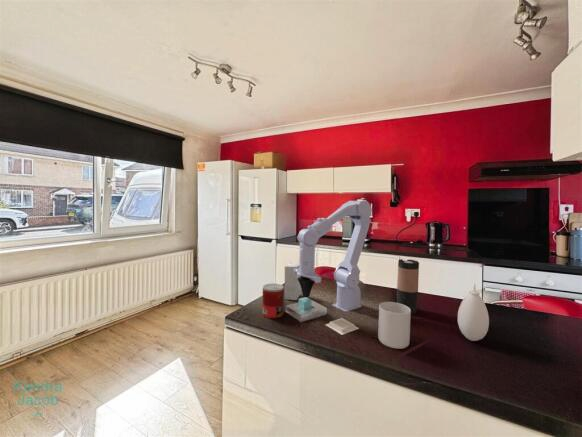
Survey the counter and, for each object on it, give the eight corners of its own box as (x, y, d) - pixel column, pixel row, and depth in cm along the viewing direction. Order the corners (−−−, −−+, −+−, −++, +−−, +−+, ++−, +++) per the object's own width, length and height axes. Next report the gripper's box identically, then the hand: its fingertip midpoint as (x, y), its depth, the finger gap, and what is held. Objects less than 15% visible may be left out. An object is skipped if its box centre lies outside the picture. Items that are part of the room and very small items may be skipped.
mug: (411, 353, 72) (413, 315, 71) (378, 348, 74) (379, 311, 73) (405, 333, 83) (406, 300, 82) (376, 329, 86) (378, 297, 85)
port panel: (310, 306, 104) (310, 299, 103) (326, 315, 95) (326, 307, 95) (285, 313, 97) (285, 305, 97) (300, 323, 89) (300, 315, 88)
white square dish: (341, 320, 91) (342, 316, 91) (358, 330, 85) (359, 325, 85) (325, 326, 87) (325, 321, 87) (341, 336, 80) (341, 331, 80)
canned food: (280, 320, 90) (281, 290, 90) (259, 318, 92) (259, 288, 91) (285, 312, 98) (286, 284, 97) (265, 310, 100) (266, 282, 99)
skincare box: (297, 300, 110) (297, 267, 109) (283, 299, 111) (284, 266, 110) (301, 294, 118) (301, 262, 117) (288, 292, 119) (289, 261, 118)
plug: (305, 312, 98) (305, 297, 98) (311, 315, 95) (311, 299, 95) (298, 314, 96) (298, 298, 96) (303, 317, 93) (304, 301, 93)
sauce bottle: (451, 332, 84) (454, 279, 83) (475, 333, 84) (478, 280, 83) (467, 345, 76) (470, 287, 75) (493, 346, 76) (497, 287, 75)
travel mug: (412, 316, 96) (414, 264, 95) (392, 309, 102) (394, 260, 101) (420, 310, 101) (422, 261, 100) (401, 304, 107) (403, 258, 106)
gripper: (287, 258, 99) (287, 292, 100) (310, 266, 87) (309, 305, 87) (302, 256, 103) (301, 289, 103) (325, 264, 91) (325, 301, 91)
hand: (306, 296), depth 96 cm, fingers closed
